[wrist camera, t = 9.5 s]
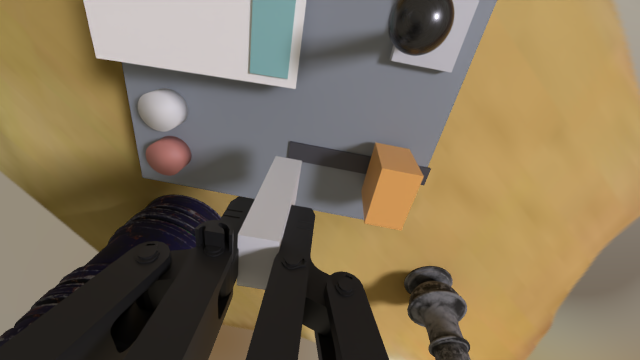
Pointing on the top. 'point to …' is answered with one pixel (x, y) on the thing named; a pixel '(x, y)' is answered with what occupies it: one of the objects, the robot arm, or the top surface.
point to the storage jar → (129, 247)
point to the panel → (307, 108)
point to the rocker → (203, 36)
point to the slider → (390, 186)
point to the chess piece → (438, 311)
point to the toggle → (420, 25)
